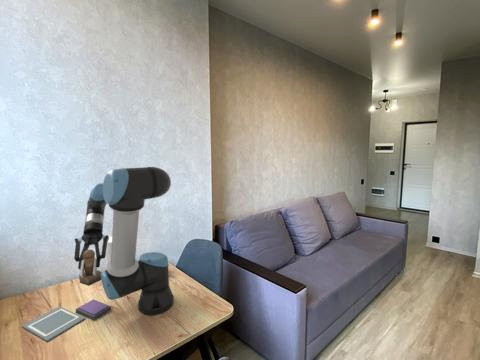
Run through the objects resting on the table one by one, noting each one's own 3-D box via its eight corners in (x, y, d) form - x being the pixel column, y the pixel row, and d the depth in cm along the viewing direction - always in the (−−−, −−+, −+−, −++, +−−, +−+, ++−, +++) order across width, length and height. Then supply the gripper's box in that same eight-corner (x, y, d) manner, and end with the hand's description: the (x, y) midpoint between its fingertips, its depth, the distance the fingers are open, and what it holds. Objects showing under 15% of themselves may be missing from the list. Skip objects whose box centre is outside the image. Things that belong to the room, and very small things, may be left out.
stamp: (102, 279, 111) (99, 248, 110) (88, 285, 106) (85, 253, 104) (93, 276, 114) (90, 246, 112) (79, 282, 109) (76, 251, 107)
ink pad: (111, 309, 112) (110, 305, 112) (93, 320, 105) (93, 316, 105) (93, 302, 118) (93, 298, 118) (75, 312, 111) (75, 308, 110)
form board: (85, 319, 106) (85, 317, 106) (47, 342, 94) (47, 340, 94) (59, 307, 114) (59, 306, 114) (21, 327, 102) (21, 325, 102)
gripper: (115, 227, 125) (112, 275, 111) (74, 231, 120) (66, 282, 106) (112, 219, 119) (109, 269, 106) (70, 223, 114) (61, 276, 100)
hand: (88, 275), depth 106 cm, fingers closed on stamp, 4 cm apart
